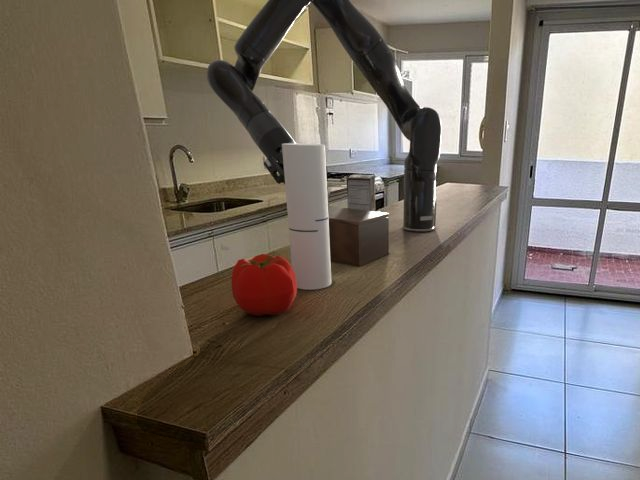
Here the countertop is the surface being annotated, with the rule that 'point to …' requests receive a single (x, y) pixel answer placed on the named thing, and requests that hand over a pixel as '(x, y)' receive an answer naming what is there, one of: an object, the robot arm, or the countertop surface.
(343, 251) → the chest
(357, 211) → the lid
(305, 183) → the cylindrical container
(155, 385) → the countertop surface
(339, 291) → the countertop surface
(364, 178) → the coffee box
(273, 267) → the tomato
